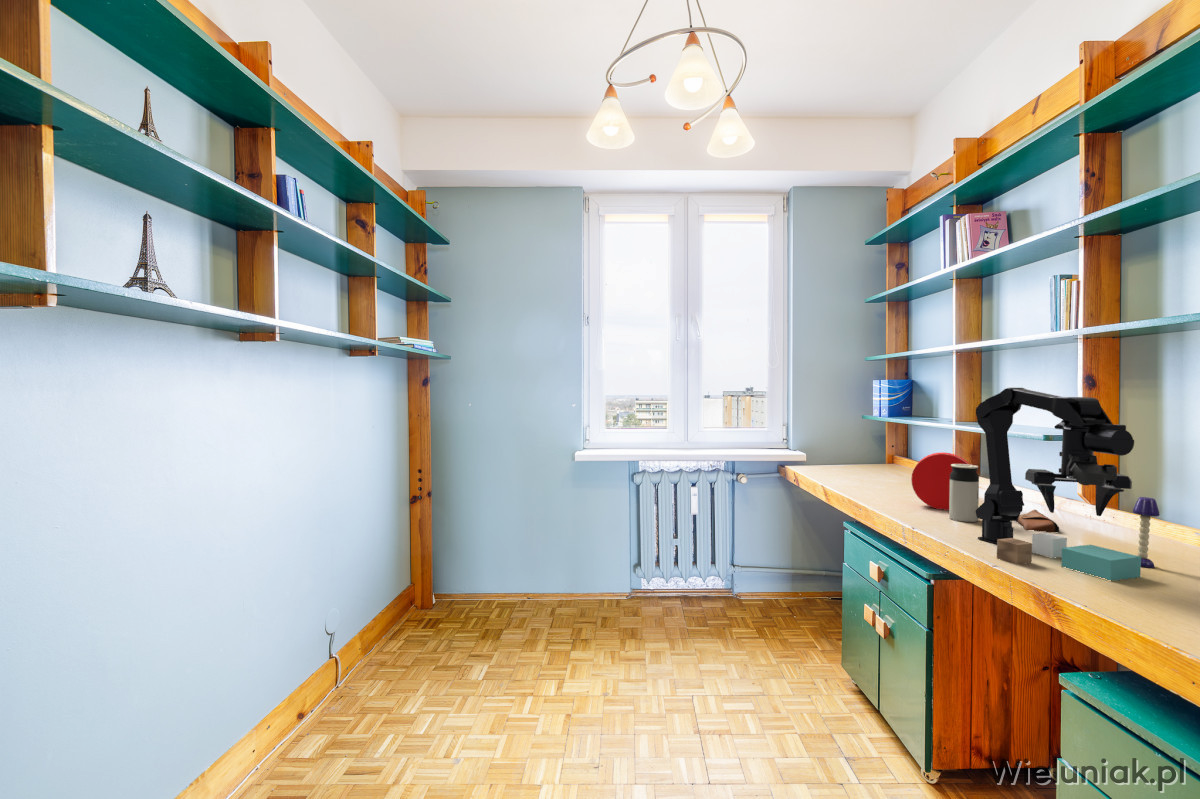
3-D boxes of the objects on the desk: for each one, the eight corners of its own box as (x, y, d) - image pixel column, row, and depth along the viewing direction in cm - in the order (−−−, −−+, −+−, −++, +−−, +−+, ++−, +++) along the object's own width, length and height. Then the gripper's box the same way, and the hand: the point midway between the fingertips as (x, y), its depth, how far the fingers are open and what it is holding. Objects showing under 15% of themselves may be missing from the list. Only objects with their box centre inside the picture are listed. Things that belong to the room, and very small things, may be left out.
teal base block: (1061, 568, 131) (1061, 547, 131) (1090, 564, 134) (1090, 544, 134) (1110, 582, 122) (1110, 560, 122) (1140, 578, 125) (1140, 556, 125)
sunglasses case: (1008, 517, 182) (1020, 501, 181) (1030, 529, 180) (1043, 513, 178) (1025, 530, 166) (1039, 512, 164) (1049, 544, 163) (1064, 526, 162)
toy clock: (976, 510, 193) (977, 454, 192) (977, 513, 188) (978, 456, 188) (912, 503, 204) (912, 450, 204) (910, 506, 199) (911, 452, 199)
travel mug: (946, 519, 179) (947, 465, 179) (952, 515, 185) (953, 463, 184) (974, 523, 173) (975, 467, 173) (980, 519, 179) (981, 465, 178)
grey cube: (1031, 553, 143) (1032, 534, 143) (1045, 551, 144) (1045, 532, 144) (1052, 558, 138) (1053, 539, 138) (1066, 557, 140) (1066, 537, 140)
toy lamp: (1145, 562, 135) (1147, 496, 135) (1163, 568, 130) (1165, 499, 130) (1125, 562, 135) (1126, 495, 135) (1142, 568, 131) (1144, 499, 130)
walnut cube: (996, 558, 138) (997, 539, 138) (1011, 557, 139) (1011, 537, 139) (1017, 565, 133) (1017, 544, 133) (1031, 563, 135) (1032, 543, 134)
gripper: (1046, 452, 125) (1043, 519, 126) (1148, 456, 119) (1145, 526, 120) (1025, 446, 136) (1023, 508, 136) (1118, 449, 130) (1115, 514, 130)
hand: (1074, 514), depth 130 cm, fingers open, 9 cm apart
